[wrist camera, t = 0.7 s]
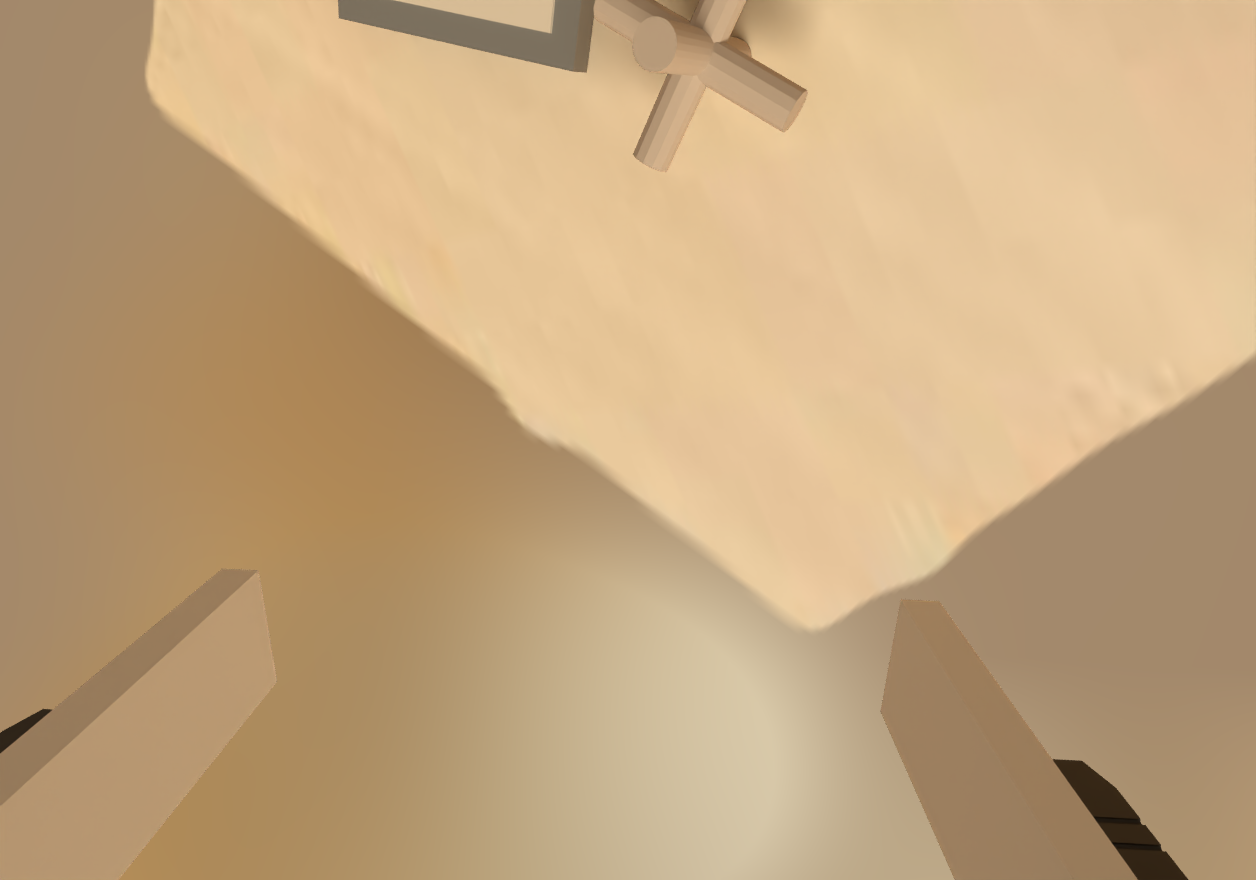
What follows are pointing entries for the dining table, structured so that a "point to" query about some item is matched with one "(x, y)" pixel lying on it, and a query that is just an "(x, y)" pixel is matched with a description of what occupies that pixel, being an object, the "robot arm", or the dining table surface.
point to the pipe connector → (696, 69)
